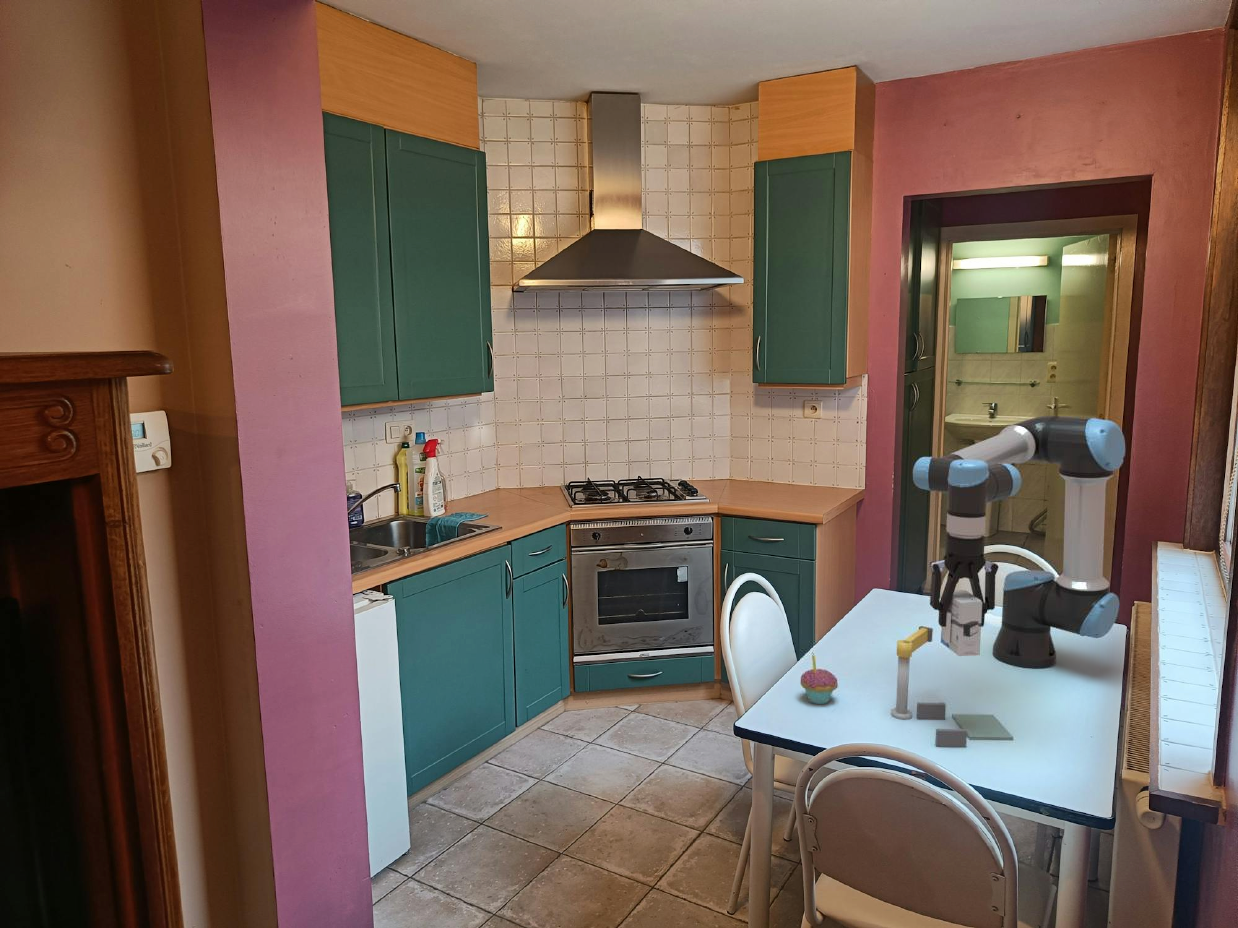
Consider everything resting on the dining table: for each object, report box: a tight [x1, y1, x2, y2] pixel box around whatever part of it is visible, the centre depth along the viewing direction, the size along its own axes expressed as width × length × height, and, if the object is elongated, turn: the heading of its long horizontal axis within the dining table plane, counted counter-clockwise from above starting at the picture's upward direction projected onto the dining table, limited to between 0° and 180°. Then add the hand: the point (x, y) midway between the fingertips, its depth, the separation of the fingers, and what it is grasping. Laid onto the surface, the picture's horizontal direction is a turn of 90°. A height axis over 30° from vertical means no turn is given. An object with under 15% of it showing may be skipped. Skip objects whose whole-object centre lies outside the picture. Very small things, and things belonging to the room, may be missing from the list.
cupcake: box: [800, 652, 839, 705], centre depth 202 cm, size 9×8×12 cm
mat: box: [951, 713, 1014, 741], centre depth 188 cm, size 9×11×1 cm
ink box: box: [940, 589, 982, 657], centre depth 183 cm, size 8×5×12 cm, turn 4°
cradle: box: [890, 656, 968, 748], centre depth 187 cm, size 11×17×14 cm, turn 178°
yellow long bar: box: [896, 625, 934, 658], centre depth 196 cm, size 15×3×3 cm, turn 140°
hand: (960, 640), depth 184 cm, fingers closed on ink box, 5 cm apart
